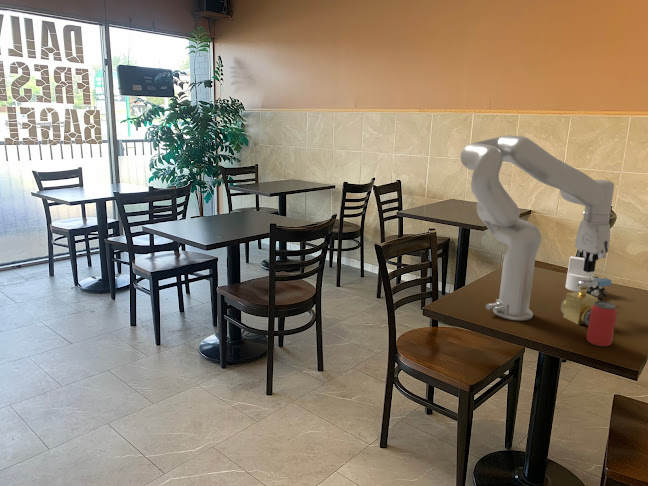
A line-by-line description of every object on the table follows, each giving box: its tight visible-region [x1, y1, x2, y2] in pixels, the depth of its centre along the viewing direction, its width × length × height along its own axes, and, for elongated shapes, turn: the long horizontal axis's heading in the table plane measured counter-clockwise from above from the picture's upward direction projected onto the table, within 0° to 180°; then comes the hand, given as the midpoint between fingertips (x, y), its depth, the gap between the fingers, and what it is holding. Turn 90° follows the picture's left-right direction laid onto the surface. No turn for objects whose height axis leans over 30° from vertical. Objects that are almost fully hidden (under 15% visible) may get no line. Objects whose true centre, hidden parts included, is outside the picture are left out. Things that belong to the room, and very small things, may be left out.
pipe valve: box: [560, 287, 599, 326], centre depth 165 cm, size 12×6×11 cm, turn 18°
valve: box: [586, 275, 607, 301], centre depth 187 cm, size 7×7×12 cm
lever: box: [577, 277, 613, 288], centre depth 165 cm, size 12×4×2 cm, turn 108°
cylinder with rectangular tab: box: [565, 255, 595, 292], centre depth 195 cm, size 9×9×12 cm
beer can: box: [586, 300, 617, 347], centre depth 148 cm, size 7×7×12 cm
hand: (588, 271), depth 171 cm, fingers closed
